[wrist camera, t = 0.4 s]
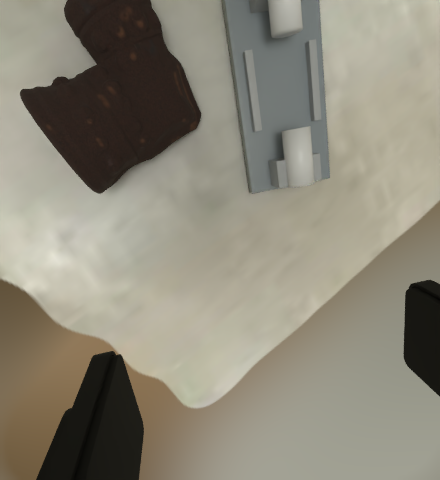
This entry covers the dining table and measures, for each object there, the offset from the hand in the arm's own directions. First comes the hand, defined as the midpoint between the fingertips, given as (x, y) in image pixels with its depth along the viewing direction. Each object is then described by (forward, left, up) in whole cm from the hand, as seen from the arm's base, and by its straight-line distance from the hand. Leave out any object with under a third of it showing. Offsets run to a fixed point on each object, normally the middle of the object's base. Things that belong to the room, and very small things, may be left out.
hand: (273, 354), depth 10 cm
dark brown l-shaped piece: (-13, -7, -30) cm, 34 cm away
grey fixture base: (-11, +11, -30) cm, 34 cm away
